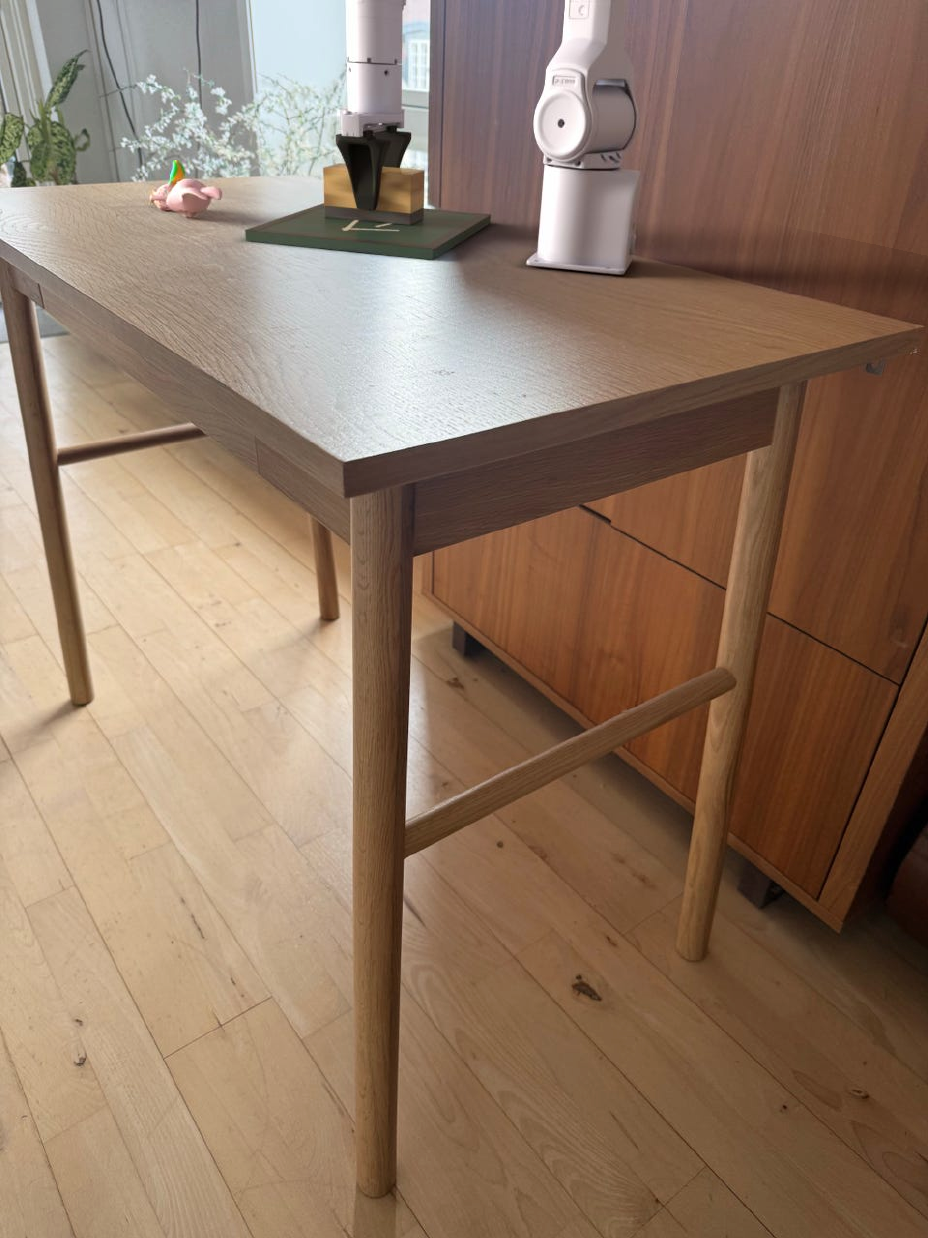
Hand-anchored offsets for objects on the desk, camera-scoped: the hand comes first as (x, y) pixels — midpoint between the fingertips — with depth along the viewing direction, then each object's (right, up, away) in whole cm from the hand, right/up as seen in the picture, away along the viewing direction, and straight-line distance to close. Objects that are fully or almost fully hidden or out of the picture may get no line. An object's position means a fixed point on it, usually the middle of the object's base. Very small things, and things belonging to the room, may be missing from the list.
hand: (375, 205), depth 104 cm
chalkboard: (0, -3, -1) cm, 3 cm away
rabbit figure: (-21, -1, +2) cm, 22 cm away
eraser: (0, -1, +1) cm, 1 cm away
